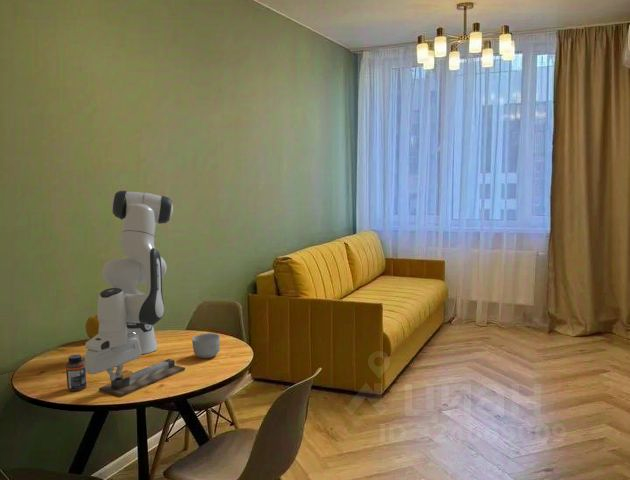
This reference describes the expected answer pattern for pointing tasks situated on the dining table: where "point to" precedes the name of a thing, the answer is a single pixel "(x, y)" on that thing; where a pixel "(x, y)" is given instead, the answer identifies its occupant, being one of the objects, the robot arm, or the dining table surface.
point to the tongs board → (139, 381)
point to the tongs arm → (151, 369)
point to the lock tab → (126, 374)
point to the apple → (92, 326)
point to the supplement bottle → (76, 373)
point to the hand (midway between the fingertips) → (115, 378)
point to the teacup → (206, 345)
